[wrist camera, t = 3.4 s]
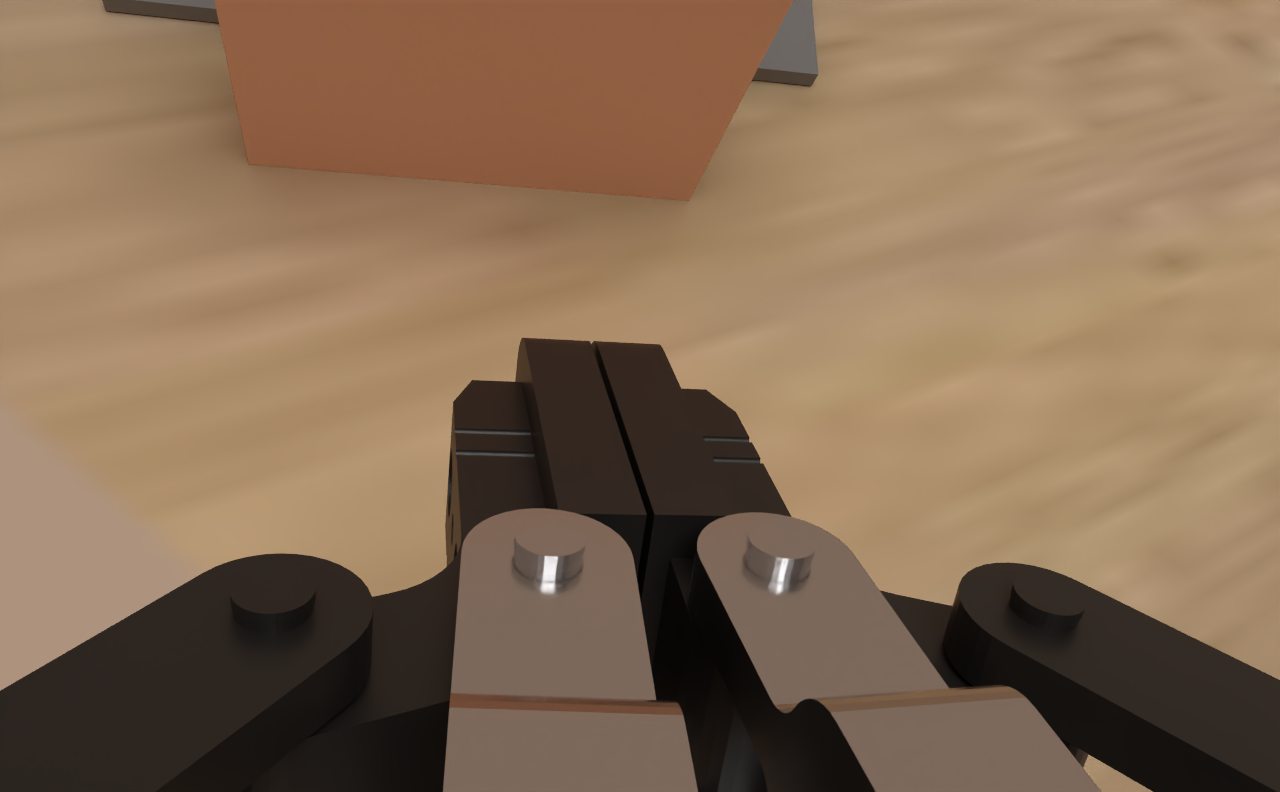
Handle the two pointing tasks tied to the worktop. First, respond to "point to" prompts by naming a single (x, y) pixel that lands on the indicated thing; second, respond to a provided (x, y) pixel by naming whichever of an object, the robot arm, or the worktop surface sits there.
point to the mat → (782, 63)
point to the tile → (496, 87)
